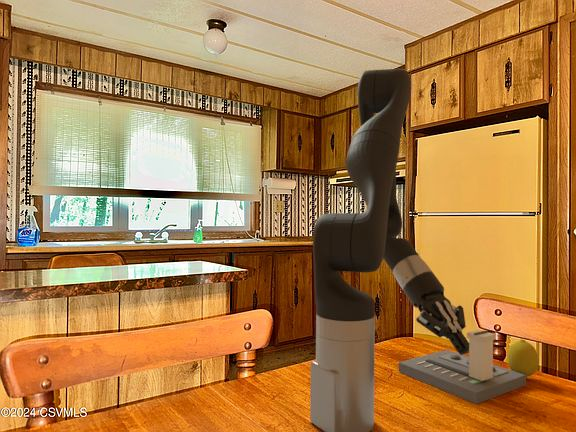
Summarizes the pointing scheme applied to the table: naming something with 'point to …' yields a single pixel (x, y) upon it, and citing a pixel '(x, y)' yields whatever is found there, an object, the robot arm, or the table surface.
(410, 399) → the table surface
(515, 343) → the lemon
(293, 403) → the table surface
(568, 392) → the table surface
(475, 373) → the fader knob
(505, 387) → the console
